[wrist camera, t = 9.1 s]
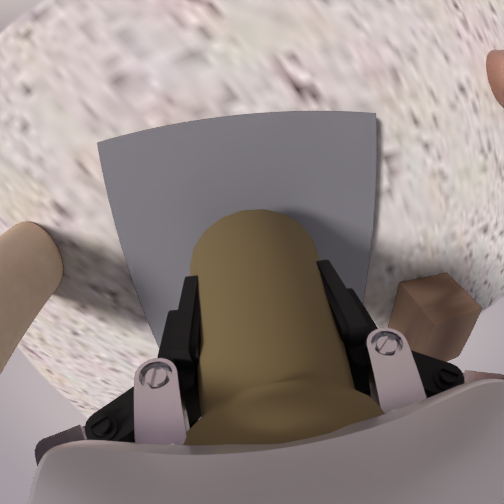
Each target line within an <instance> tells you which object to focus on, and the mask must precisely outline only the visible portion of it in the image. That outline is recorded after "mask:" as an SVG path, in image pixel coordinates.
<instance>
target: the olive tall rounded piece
mask: <svg viewBox="0 0 504 504" xmlns="http://www.w3.org/2000/svg"><path fill="white" fill-rule="evenodd" d="M316 261H320V259H319V256H318V253H317V250H316V247H315V244H314V241H313V239H312V238H311V237H310V235H309V234H308V232H307V231H306V230H305V228H304V227H303V226H302V225H301V224H299V223H298V222H296V221H295V220H293V219H292V218H290V217H289V216H287V215H285V214H282V213H278V212H274V211H270V210H266V209H256V210H241V211H239V212H236V213H233V214H231V215H228V216H226V217H223V218H221V219H219V220H218V221H217V222H216V223H214V224H213V225H212V226H211V227H209V228H208V229H207V230H206V231H204V233H203V234H202V236H201V237H200V239H199V241H198V242H197V244H196V245H195V247H194V249H193V253H192V258H191V263H190V276H195V275H198V286H197V289H198V296H199V303H200V349H199V351H200V360H199V364H198V368H197V383H198V392H199V401H200V409H201V418H200V419H199V420H198V421H197V422H196V423H195V424H194V425H193V426H192V427H191V428H190V429H189V430H188V432H187V437H186V439H185V442H184V444H183V445H224V444H281V443H286V442H292V441H297V440H302V439H307V438H311V437H316V436H320V435H324V434H328V433H331V432H334V431H336V430H338V429H341V428H343V427H345V426H348V425H350V424H354V423H357V422H361V421H364V420H368V419H371V418H374V417H377V416H381V415H384V414H385V413H384V411H383V410H382V409H381V408H380V407H379V405H378V404H377V403H376V402H375V401H374V400H373V399H372V398H371V397H370V396H368V395H366V394H363V393H361V392H359V391H357V390H355V387H354V383H353V379H352V374H351V370H350V366H349V362H348V358H347V354H346V350H345V346H344V343H343V341H342V340H341V338H340V335H339V332H338V329H337V326H336V323H335V320H334V317H333V314H332V311H331V308H330V305H329V302H328V300H327V297H326V294H325V290H324V286H323V282H322V278H321V274H320V270H319V268H318V265H317V263H316Z"/></svg>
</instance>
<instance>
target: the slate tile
mask: <svg viewBox="0 0 504 504" xmlns="http://www.w3.org/2000/svg"><path fill="white" fill-rule="evenodd" d="M97 145H98V151H99V156H100V162H101V167H102V172H103V176H104V181H105V186H106V190H107V194H108V199H109V203H110V207H111V211H112V215H113V218H114V222H115V226H116V229H117V233H118V236H119V240H120V243H121V247H122V250H123V253H124V256H125V260H126V263H127V266H128V269H129V272H130V275H131V278H132V281H133V283H134V286H135V289H136V292H137V295H138V297H139V300H140V303H141V305H142V308H143V311H144V313H145V316H146V318H147V321H148V323H149V326H150V328H151V330H152V333H153V335H154V338H155V340H156V342H157V345H158V347H159V349H160V344H161V340H162V335H163V331H164V327H165V322H166V318H167V314H168V312H169V311H170V310H178V306H179V302H180V297H181V292H182V288H183V283H184V279H185V277H186V276H190V263H191V258H192V253H193V249H194V247H195V245H196V244H197V242H198V241H199V239H200V237H201V236H202V234H203V233H204V231H206V230H207V229H208V228H209V227H211V226H212V225H213V224H214V223H216V222H217V221H218V220H219V219H221V218H223V217H226V216H228V215H231V214H233V213H236V212H239V211H241V210H256V209H266V210H270V211H274V212H278V213H282V214H285V215H287V216H289V217H290V218H292V219H293V220H295V221H296V222H298V223H299V224H301V225H302V226H303V227H304V228H305V230H306V231H307V232H308V234H309V235H310V237H311V238H312V239H313V241H314V244H315V247H316V250H317V253H318V256H319V259H320V260H329V261H330V263H331V264H332V266H333V267H334V269H335V270H336V272H337V274H338V275H339V277H340V278H341V280H342V282H343V283H344V285H345V287H346V288H352V289H353V290H354V291H355V293H356V294H357V296H358V297H359V299H360V301H361V302H362V304H363V299H364V293H365V287H366V280H367V274H368V266H369V259H370V250H371V241H372V231H373V220H374V207H375V190H376V156H377V139H376V113H366V112H346V111H289V112H269V113H255V114H243V115H233V116H225V117H216V118H209V119H202V120H196V121H189V122H183V123H178V124H172V125H167V126H162V127H157V128H152V129H148V130H143V131H139V132H135V133H131V134H127V135H123V136H119V137H115V138H112V139H108V140H104V141H101V142H98V143H97Z"/></svg>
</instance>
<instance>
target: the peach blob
mask: <svg viewBox="0 0 504 504" xmlns="http://www.w3.org/2000/svg"><path fill="white" fill-rule="evenodd" d="M486 69H487V76H488V80H489V84H490V87H491V90H492V92H493V94H494V96H495V98H496V99H497V101H498V102H499V103H500V104H501V105H502V106H503V107H504V50H492V51H490V52H489V53H488V56H487V60H486Z"/></svg>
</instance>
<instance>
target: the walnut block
mask: <svg viewBox="0 0 504 504" xmlns="http://www.w3.org/2000/svg"><path fill="white" fill-rule="evenodd" d="M481 310H482V307H481V306H480V305H479V304H478V303H477V302H476V301H475V300H474V299H473V298H472V297H471V296H470V295H469V294H468V293H467V292H466V291H465V290H464V289H463V288H462V287H461V286H460V285H459V284H458V283H457V282H456V281H455V280H454V279H453V278H452V277H451V276H450V275H449V274H448V273H442V274H438V275H433V276H429V277H424V278H419V279H414V280H409V281H404V282H399V287H398V291H397V295H396V299H395V303H394V307H393V311H392V315H391V318H390V322H389V325H388V328H391V329H395V330H397V331H399V332H400V333H401V334H402V335H404V337H405V338H406V340H407V342H408V345H409V347H410V350H413V351H415V352H418V353H421V354H424V355H427V356H430V357H433V358H436V359H439V360H442V361H445V362H447V361H449V360H451V359H454V358H456V357H458V356H459V355H460V353H461V351H462V349H463V347H464V345H465V343H466V342H467V339H468V338H469V336H470V333H471V331H472V329H473V327H474V325H475V323H476V321H477V318H478V316H479V314H480V312H481Z"/></svg>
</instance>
